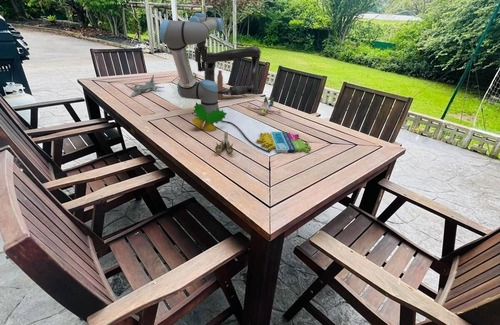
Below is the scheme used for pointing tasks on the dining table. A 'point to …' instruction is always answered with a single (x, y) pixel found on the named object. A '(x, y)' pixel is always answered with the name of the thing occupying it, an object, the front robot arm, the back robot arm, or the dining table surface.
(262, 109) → the toy
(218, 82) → the bottle
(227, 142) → the jawbone
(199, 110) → the ornament
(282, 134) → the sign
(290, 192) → the dining table surface
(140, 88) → the airplane
